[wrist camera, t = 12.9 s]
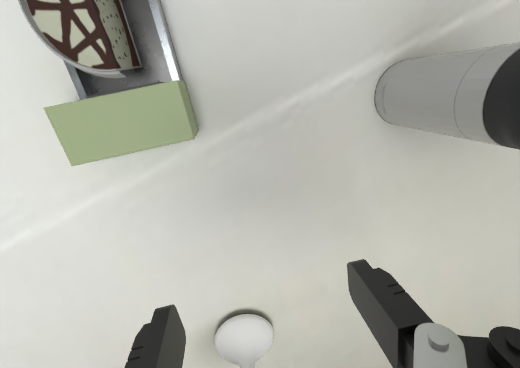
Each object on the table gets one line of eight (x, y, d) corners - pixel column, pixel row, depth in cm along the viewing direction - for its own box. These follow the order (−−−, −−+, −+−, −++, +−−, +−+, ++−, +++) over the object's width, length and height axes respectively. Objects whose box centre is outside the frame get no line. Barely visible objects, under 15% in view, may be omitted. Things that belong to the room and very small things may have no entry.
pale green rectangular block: (184, 79, 34) (175, 77, 28) (198, 130, 37) (194, 138, 30) (76, 101, 33) (42, 104, 27) (98, 152, 36) (71, 166, 29)
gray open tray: (141, -63, 29) (132, -83, 26) (183, 82, 34) (179, 81, 31) (34, -45, 28) (10, -63, 25) (94, 100, 34) (81, 101, 30)
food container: (51, -29, 28) (-30, -86, 19) (108, -38, 29) (56, -98, 20) (97, 89, 33) (50, 89, 24) (146, 79, 33) (118, 76, 24)
